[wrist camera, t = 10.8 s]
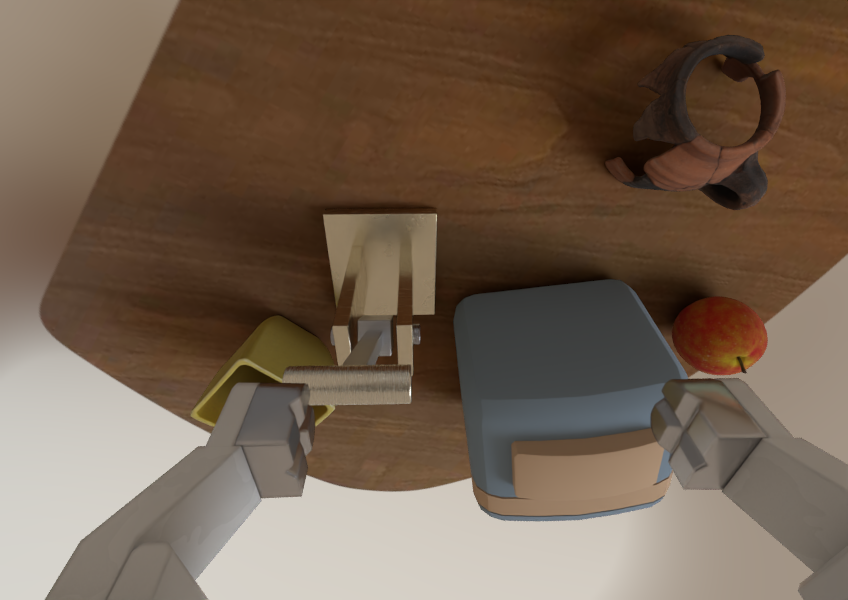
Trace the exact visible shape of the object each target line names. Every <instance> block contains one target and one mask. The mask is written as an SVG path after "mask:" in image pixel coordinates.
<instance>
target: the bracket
mask: <svg viewBox="0 0 848 600" xmlns="http://www.w3.org/2000/svg"><path fill="white" fill-rule="evenodd" d="M323 220H324V227H325V233H326V240H327V247H328V254H329V261H330V268H331V275H332V282H333V289H334V296H335V302H336V313H335V317H334V321H333V325H332V327H331V344H332V345H333V346H335V348H336V355H337V361H338V365H342V364H343V363H344V362H345V360H346V359H347V357H348V356H349V355H350V353H351V352H352V350H353V349H354V348H355V346H356V345H357V343H358V330H357V321H358V320H359V319H360V318H361V317H362V316H363V315H397V324H396V328H397V350H398V365H402V364H409V365H411V376H413V344H414V345H415V344H420V324H413V315H434V314H435V285H436V237H437V210H436V208H370V209H325V211H324V213H323Z"/></svg>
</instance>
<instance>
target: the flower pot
mask: <svg viewBox="0 0 848 600" xmlns="http://www.w3.org/2000/svg"><path fill="white" fill-rule="evenodd" d="M289 366H334V362H333V359H332V356H331V354H330V352H329V350H328V349H327V347H326V346H325V345H324V344H323V342H322V341H321V340H320V339H319V338H317V337H316V336H314V335H312V334H311V333H309V332H307V331H305V330H304V329H302V328H300V327H299V326H297V325H295V324H294V323H292V322H290V321H289V320H287V319H286V318H284V317H282V316H279V315H277V316H273V317H270V318H268V319H266V320H265V321H263V322H262V323H261V324H260V325H259V326H258V327H257V328H256V330H255V331H254V332H253V333H252V334H251V335H250V337H249V338H248V339H247V340H246V341H245V342H244V343H243V345H242V346H241V347H240V348H239V349H238V350H237V351H236V352H235V353H234V355H233V356H232V357H231V358H230V359H229V360H228V361H227V362H226V363H225V364H224V365H223V366H222V367H221V369H220V370H219V371H218V372H217V374H216V375H215V377H214V378H213V380H212V381H211V383H210V384H209V385H208V387H207V388H206V390H205V391H204V393H203V394H202V396H201V397H200V399H199V400H198V402H197V403H196V405H195V406H194V408H193V409H192V411H191V417H193V418H195V419H197V420H199V421H201V422H203V423H206V424H208V425H210V426H213V427H215V425H216V422H217V420H218V418H219V416H220V414H221V411H222V409H223V407H224V405H225V403H226V400H227V398H228V396H229V394H230V392H231V390H232V388H233V387H234V386H235V385H236V384H237V383H282V379H283V374H284V371H285V369H286V368H287V367H289ZM310 406H311V407H313V409H314V415H315V426H316V425H318V424H319V423H320V422H322V421H323V420H324V419H325V418H326V417H327V416H328V415H330V414H331V413H332V412H333V411H334V410H335V405H310Z"/></svg>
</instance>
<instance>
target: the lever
mask: <svg viewBox="0 0 848 600" xmlns="http://www.w3.org/2000/svg"><path fill="white" fill-rule="evenodd" d="M357 330H358V343H357V345H356V346H355V348H354V349H353V350H352V352H351V353H350V355H349V356H348V357H347V359H346V360H345V362H344V363H343V364H342V365H337V366H289V367H287V368H286V369H285V371H284V374H283V379H282V383H306V384H308V386H309V390H310V394H311V395H310V399H309V403H308V404H309V405H362V404H410V403H411V402H412V376H411V365H409V364H402V365H375V364H376V361H377V359H378V356H391V355H392V351H393V347H394V340H393V315H363V316H362V317H361V318H360V319H359V320H358V321H357Z"/></svg>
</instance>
